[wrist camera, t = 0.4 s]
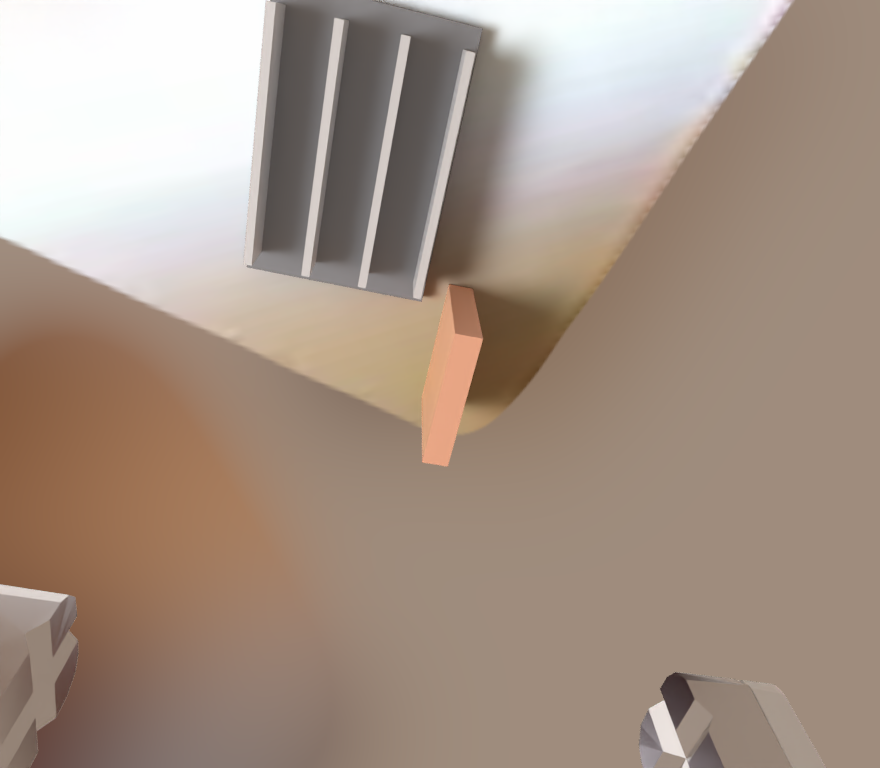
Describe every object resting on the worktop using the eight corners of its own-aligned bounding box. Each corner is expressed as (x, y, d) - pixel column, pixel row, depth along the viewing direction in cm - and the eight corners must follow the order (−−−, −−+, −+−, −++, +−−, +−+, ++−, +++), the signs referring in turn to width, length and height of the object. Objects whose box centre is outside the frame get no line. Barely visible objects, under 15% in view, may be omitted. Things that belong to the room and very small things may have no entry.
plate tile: (448, 283, 54) (455, 333, 45) (472, 288, 54) (483, 338, 46) (421, 397, 59) (422, 462, 50) (443, 401, 59) (447, 466, 51)
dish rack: (276, -25, 43) (261, -30, 39) (480, 28, 45) (487, 28, 41) (250, 262, 53) (236, 282, 48) (421, 296, 54) (421, 318, 50)
